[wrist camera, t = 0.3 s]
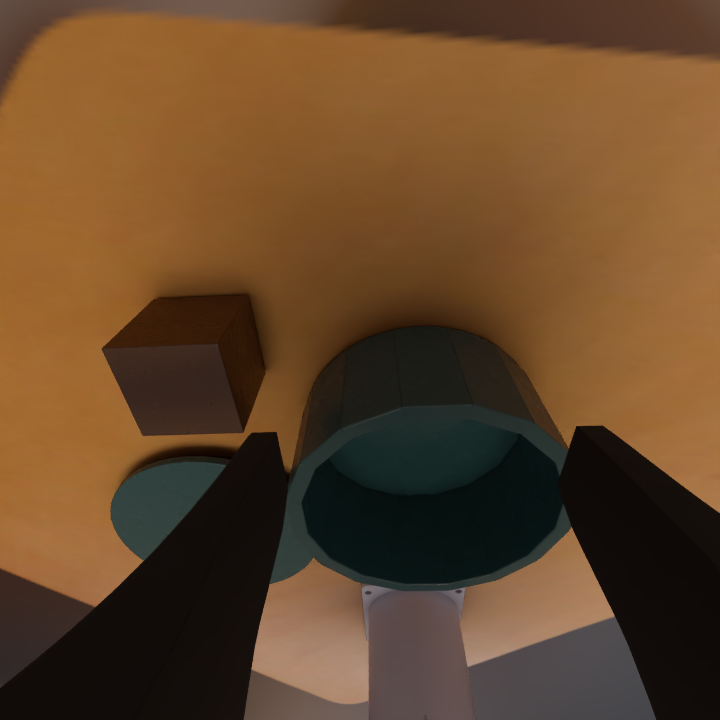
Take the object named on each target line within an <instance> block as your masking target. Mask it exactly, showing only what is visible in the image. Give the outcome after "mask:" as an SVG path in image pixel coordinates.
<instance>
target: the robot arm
mask: <svg viewBox="0 0 720 720" xmlns="http://www.w3.org/2000/svg"><path fill="white" fill-rule="evenodd" d="M557 485H558V488H559V492H560V495H561V498H562V501H563V504H564V507H565V510H566V513H567V515H568V518H569V521H570V524H571V526H572V528H573V531H574V533H575V535H576V537H577V539H578V541H579V543H580V545H581V547H582V550H583V552H584V554H585V556H586V558H587V560H588V562H589V564H590V566H591V568H592V570H593V572H594V574H595V576H596V578H597V580H598V582H599V584H600V586H601V589H602V591H603V593H604V595H605V597H606V599H607V601H608V603H609V605H610V607H611V609H612V611H613V613H614V615H615V617H616V619H617V621H618V623H619V625H620V628H621V630H622V632H623V634H624V637H625V639H626V641H627V643H628V645H629V648H630V651H631V653H632V656H633V658H634V661H635V664H636V666H637V669H638V672H639V674H640V677H641V679H642V682H643V685H644V687H645V690H646V692H647V695H648V698H649V700H650V703H651V706H652V709H653V712H654V714H655V717H656V720H720V513H719V512H717V511H716V510H714V509H713V508H712V507H710V506H709V505H708V504H706V503H705V502H703V501H702V500H701V499H699V498H698V497H697V496H695V495H694V494H692V493H691V492H690V491H688V490H687V489H686V488H684V487H683V486H682V485H680V484H679V483H678V482H676V481H675V480H674V479H672V478H671V477H670V476H669V475H667V474H666V473H665V472H663V471H662V470H661V469H659V468H658V467H657V466H655V465H654V464H653V463H652V462H650V461H649V460H648V459H646V458H645V457H644V456H642V455H641V454H640V453H639V452H637V451H636V450H635V449H633V448H632V447H631V446H629V445H628V444H627V443H626V442H624V441H623V440H622V439H620V438H619V437H618V436H616V435H615V434H614V433H612V432H611V431H609V430H608V429H607V428H605V427H604V426H576V429H575V432H574V435H573V438H572V441H571V444H570V447H569V450H568V453H567V456H566V459H565V462H564V465H563V468H562V471H561V474H560V477H559V480H558V483H557ZM287 494H288V485H287V480H286V475H285V471H284V466H283V461H282V456H281V451H280V447H279V442H278V437H277V432H263V433H251V434H250V435H249V436H248V437H247V439H246V440H245V441H244V443H243V444H242V445H241V447H240V448H239V449H238V451H237V452H236V453H235V455H234V456H233V457H232V459H231V460H230V461H229V463H228V464H227V465H226V467H225V468H224V469H223V470H222V472H221V473H220V474H219V476H218V477H217V478H216V479H215V481H214V482H213V483H212V484H211V486H210V487H209V488H208V489H207V490H206V492H205V493H204V494H203V495H202V497H201V498H200V499H199V500H198V501H197V503H196V504H195V505H194V506H193V507H192V509H191V510H190V511H189V512H188V513H187V514H186V516H185V517H184V518H183V519H182V520H181V521H180V522H179V523H178V525H177V526H176V527H175V528H174V529H173V530H172V531H171V532H170V533H169V535H168V536H167V537H166V538H165V539H164V540H163V541H162V542H161V543H160V545H159V546H158V547H157V548H156V549H155V550H154V551H153V552H152V553H151V554H150V555H149V556H148V557H147V558H146V559H145V560H144V561H143V562H142V563H141V564H140V565H139V566H138V567H137V568H136V569H135V570H134V571H133V572H132V573H131V574H130V575H129V576H128V577H127V578H126V579H125V580H124V581H123V582H122V583H121V584H120V585H119V586H118V587H117V588H116V589H115V590H114V591H113V592H112V593H111V594H109V595H108V596H107V597H106V598H105V599H104V600H103V601H102V602H101V603H100V604H99V605H97V606H96V607H95V608H94V609H93V610H92V611H91V612H90V613H89V614H88V615H87V616H86V617H84V618H83V619H82V620H81V621H80V622H79V623H78V624H77V625H76V626H75V627H73V628H72V629H71V630H70V631H69V632H67V634H65V635H64V636H63V637H62V638H61V639H59V640H58V641H57V642H56V643H55V644H53V645H52V646H51V647H50V648H49V649H47V650H46V651H45V652H44V653H42V654H41V655H40V656H39V657H38V658H37V659H35V660H34V661H33V662H32V663H30V664H29V665H28V666H27V667H25V668H24V669H23V670H22V671H21V672H19V673H18V674H17V675H16V676H14V677H13V678H12V679H11V680H10V681H8V682H7V683H6V684H5V685H3V686H2V687H1V688H0V720H243V719H244V713H245V707H246V700H247V693H248V687H249V680H250V673H251V668H252V662H253V655H254V649H255V644H256V639H257V634H258V629H259V625H260V620H261V616H262V612H263V608H264V604H265V600H266V596H267V592H268V588H269V584H270V580H271V576H272V572H273V568H274V564H275V560H276V556H277V551H278V547H279V543H280V539H281V535H282V531H283V525H284V518H285V510H286V502H287ZM465 589H466V587H465V588H460V589H456V590H449V591H398V590H393V589H388V588H384V587H379V586H374V585H369V584H364V583H362V585H361V590H362V599H363V609H364V618H365V628H366V637H367V641H368V642H369V720H477V719H476V714H475V708H474V702H473V696H472V690H471V685H470V679H469V673H468V667H467V662H466V656H465V650H464V644H463V639H462V633H461V627H460V620H461V614H462V607H463V601H464V595H465Z"/></svg>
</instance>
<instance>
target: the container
mask: <svg viewBox="0 0 720 720" xmlns="http://www.w3.org/2000/svg"><path fill="white" fill-rule="evenodd" d="M568 450H569V448H568V447H567V445H566V443H565V441H564V440H563V438H562V436H561V434H560V433H559V431H558V429H557V427H556V426H555V424H554V422H553V420H552V419H551V417H550V415H549V413H548V412H547V410H546V408H545V406H544V405H543V403H542V401H541V399H540V398H539V396H538V394H537V392H536V391H535V389H534V387H533V385H532V384H531V382H530V380H529V378H528V377H527V375H526V373H525V372H524V371H523V370H521V369H520V368H519V367H518V365H517V364H516V363H515V362H514V361H513V360H512V359H511V357H510V356H509V355H508V354H506V353H505V352H504V351H502V350H501V349H500V348H499V347H497V346H496V345H494V344H492V343H490V342H489V341H487V340H485V339H483V338H481V337H478V336H476V335H473V334H471V333H468V332H464V331H460V330H456V329H452V328H444V327H437V326H417V327H407V328H400V329H395V330H391V331H386V332H383V333H380V334H377V335H374V336H371V337H369V338H367V339H365V340H363V341H360V342H358V343H356V344H354V345H353V346H351V347H350V348H348V349H347V350H345V351H344V352H342V353H341V354H340V355H339V356H337V357H336V358H335V359H334V360H333V361H331V362H330V364H329V365H328V366H327V367H326V368H325V369H324V370H323V371H322V372H321V374H320V376H319V377H318V379H317V380H316V381H315V382H314V385H313V387H312V390H311V392H310V394H309V397H308V401H307V404H306V407H305V410H304V413H303V416H302V421H301V425H300V430H299V435H298V440H297V445H296V450H295V455H294V460H293V464H292V469H291V474H290V479H289V484H288V494H287V502H286V507H287V511H288V515H289V519H290V523H291V527H292V531H293V535H294V536H295V538H296V539H297V540H298V541H299V542H300V543H301V544H302V545H303V546H304V547H305V548H306V549H307V550H308V551H309V553H310V554H311V555H312V556H313V557H314V558H315V559H316V560H317V561H318V562H319V563H320V564H321V565H323V566H325V567H328V568H330V569H332V570H334V571H336V572H338V573H340V574H342V575H344V576H346V577H348V578H350V579H352V580H354V581H356V582H359V583H364V584H369V585H374V586H379V587H384V588H388V589H393V590H398V591H449V590H456V589H460V588H465V587H469V586H474V585H478V584H482V583H487V582H491V581H496V580H499V579H501V578H503V577H505V576H507V575H509V574H511V573H513V572H515V571H517V570H519V569H521V568H523V567H525V566H527V565H529V564H531V563H533V562H535V561H537V560H538V559H540V558H541V557H542V556H543V555H544V554H545V553H546V552H547V551H549V550H550V549H551V548H552V547H553V546H554V545H555V544H556V543H557V542H558V541H559V540H560V539H561V538H562V537H563V536H564V535H565V534H566V533H567V532H568V531H569V530H570V528H571V524H570V521H569V518H568V515H567V513H566V510H565V507H564V504H563V501H562V498H561V495H560V492H559V488H558V485H557V483H558V480H559V477H560V474H561V471H562V468H563V465H564V462H565V459H566V456H567V453H568Z"/></svg>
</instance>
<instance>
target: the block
mask: <svg viewBox="0 0 720 720" xmlns="http://www.w3.org/2000/svg"><path fill="white" fill-rule="evenodd" d="M102 351H103V353H104V355H105V357H106V360H107V362H108V364H109V366H110V368H111V370H112V372H113V374H114V376H115V379H116V381H117V383H118V385H119V387H120V389H121V391H122V393H123V395H124V397H125V400H126V402H127V404H128V406H129V408H130V410H131V412H132V414H133V416H134V419H135V421H136V423H137V425H138V427H139V429H140V431H141V433H142V435H143V436H155V435H187V434H219V433H243V432H244V430H245V427H246V424H247V422H248V419H249V416H250V414H251V411H252V408H253V406H254V403H255V400H256V397H257V395H258V392H259V389H260V387H261V384H262V381H263V379H264V376H265V369H264V365H263V361H262V356H261V352H260V347H259V343H258V338H257V334H256V329H255V325H254V321H253V316H252V312H251V307H250V303H249V298H248V295H232V296H211V297H190V298H169V299H154V300H153V301H151V302H150V303H149V304H148V305H147V306H146V307H145V308H144V309H143V310H142V311H141V312H140V313H139V314H138V315H137V316H136V317H135V318H133V319H132V320H131V321H130V322H129V323H128V324H127V325H126V326H125V327H124V328H123V329H122V330H121V331H120V332H119V333H118V334H117V335H115V336H114V337H113V338H112V339H111V340H110V341H109V342H108V343H107V344H106V345H105V346H104V347H103V348H102Z"/></svg>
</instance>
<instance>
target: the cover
mask: <svg viewBox="0 0 720 720" xmlns="http://www.w3.org/2000/svg"><path fill="white" fill-rule="evenodd" d="M229 461H230V460H229V459H224V458H217V457H208V456H184V457H174V458H169V459H163V460H160V461H157V462H153V463H150V464H148V465H146V466H144V467H141V468H139V469H138V470H136V471H135V472H133V473H132V474H130V475H129V476H128V477H127V478H126V479H125V480H124V481H123V482H122V484H121V485H120V487H119V488H118V490H117V491H116V493H115V494H114V497H113V499H112V502H111V510H110V512H111V520H112V523H113V526H114V529H115V531H116V532H117V534H118V536H119V537H120V539H121V540H122V541H123V543H124V544H125V545H126V546H127V547H128V548H129V549H130V550H131V551H132V552H133V553H134V554H136V555H137V556H138V557H139V558H141V559H142V560H145V559H146V558H147V557H148V556H149V555H150V554H151V553H152V552H153V551H154V550H155V549H156V548H157V547H158V546H159V545H160V543H161V542H162V541H163V540H164V539H165V538H166V537H167V536H168V535H169V533H170V532H171V531H172V530H173V529H174V528H175V527H176V526H177V525H178V523H179V522H180V521H181V520H182V519H183V518H184V517H185V516H186V514H187V513H188V512H189V511H190V510H191V509H192V507H193V506H194V505H195V504H196V503H197V501H198V500H199V499H200V498H201V497H202V495H203V494H204V493H205V492H206V490H207V489H208V488H209V487H210V486H211V484H212V483H213V482H214V481H215V479H216V478H217V477H218V476H219V474H220V473H221V472H222V470H223V469H224V468H225V467H226V465H227V464H228V463H229ZM287 485H288V483H287ZM312 558H313V556H312V555H311V554H310V553H309V551H308V550H307V549H306V548H305V547H304V546H303V545H302V544H301V543H300V542H299V541H298V540H297V539H296V538H295V536H294V535H293V531H292V527H291V523H290V519H289V515H288V511H287V507H286V510H285V518H284V525H283V531H282V535H281V539H280V543H279V547H278V551H277V556H276V560H275V564H274V568H273V572H272V576H271V580H270V584H272V583H275V582H279V581H282V580H284V579H286V578H289V577H291V576H293V575H295V574H296V573H298V572H299V571H301V570H302V569H303V568H305V567H306V566H307V565H308V564H309V562H310V561H311V560H312Z"/></svg>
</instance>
